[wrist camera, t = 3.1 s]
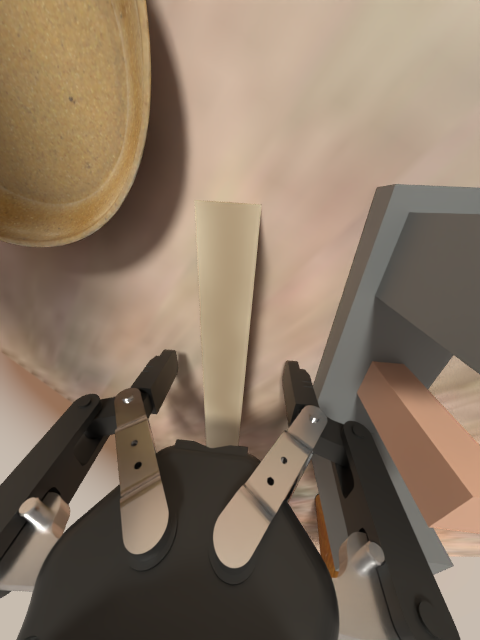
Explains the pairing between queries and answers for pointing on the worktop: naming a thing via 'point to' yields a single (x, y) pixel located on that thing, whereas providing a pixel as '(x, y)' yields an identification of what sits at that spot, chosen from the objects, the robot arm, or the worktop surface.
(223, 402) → the ash bar
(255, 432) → the worktop surface
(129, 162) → the plant saucer
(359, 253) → the display stand
